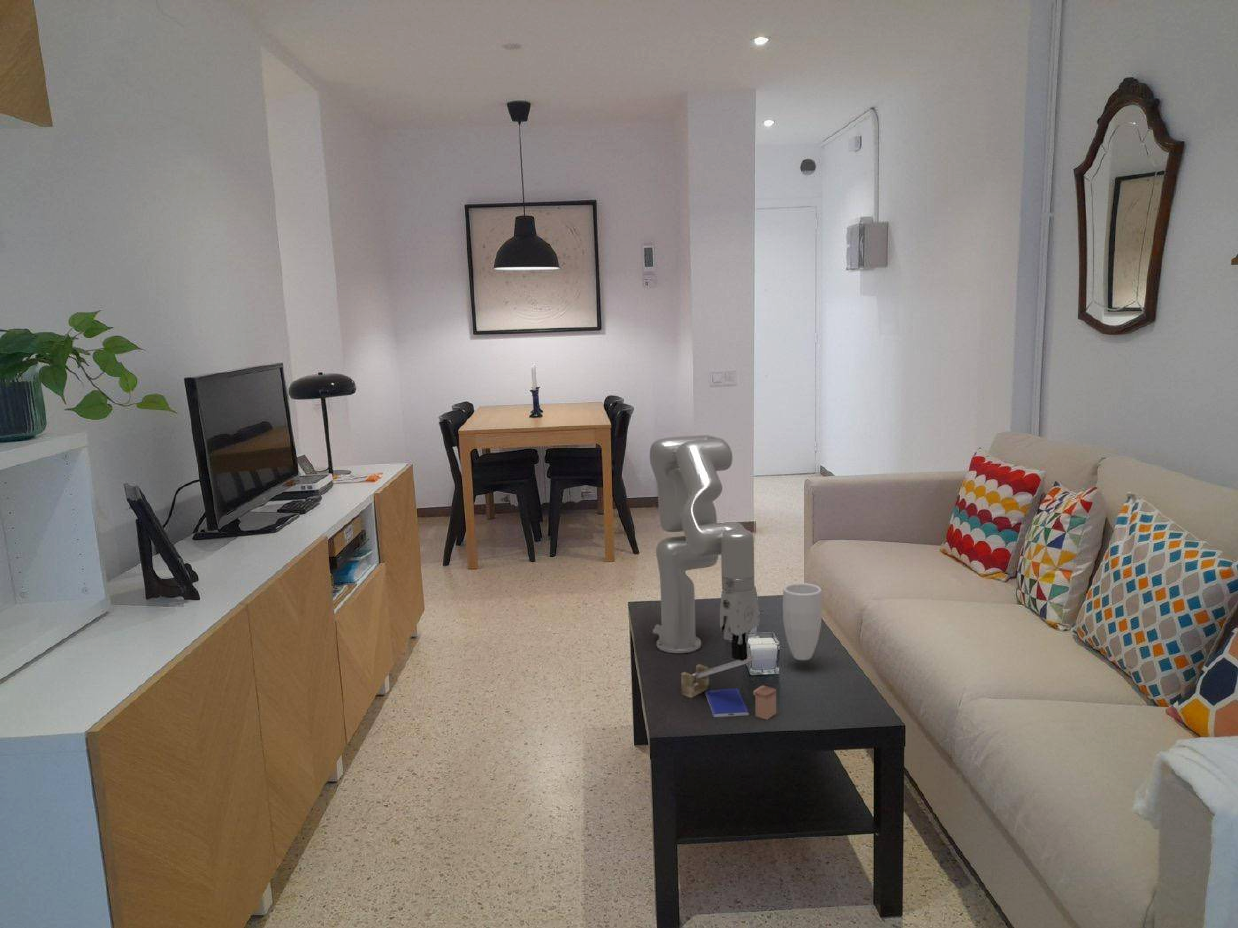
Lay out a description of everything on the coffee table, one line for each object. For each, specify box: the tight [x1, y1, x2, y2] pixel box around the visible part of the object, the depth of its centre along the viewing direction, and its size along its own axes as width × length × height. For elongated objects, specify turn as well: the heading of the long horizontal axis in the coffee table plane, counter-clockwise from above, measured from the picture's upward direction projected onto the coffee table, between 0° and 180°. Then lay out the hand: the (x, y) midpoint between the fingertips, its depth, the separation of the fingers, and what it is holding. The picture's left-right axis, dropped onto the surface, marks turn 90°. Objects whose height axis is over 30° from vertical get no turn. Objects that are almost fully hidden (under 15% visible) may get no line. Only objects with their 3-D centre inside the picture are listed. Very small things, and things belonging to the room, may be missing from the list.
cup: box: [782, 582, 823, 661], centre depth 217 cm, size 10×10×22 cm
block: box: [752, 685, 777, 721], centre depth 193 cm, size 4×4×6 cm
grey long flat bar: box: [692, 655, 755, 681], centre depth 200 cm, size 19×4×1 cm, turn 48°
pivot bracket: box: [680, 663, 710, 699], centre depth 206 cm, size 3×7×6 cm, turn 137°
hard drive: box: [705, 688, 750, 718], centre depth 199 cm, size 2×8×12 cm
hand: (739, 658), depth 196 cm, fingers closed
